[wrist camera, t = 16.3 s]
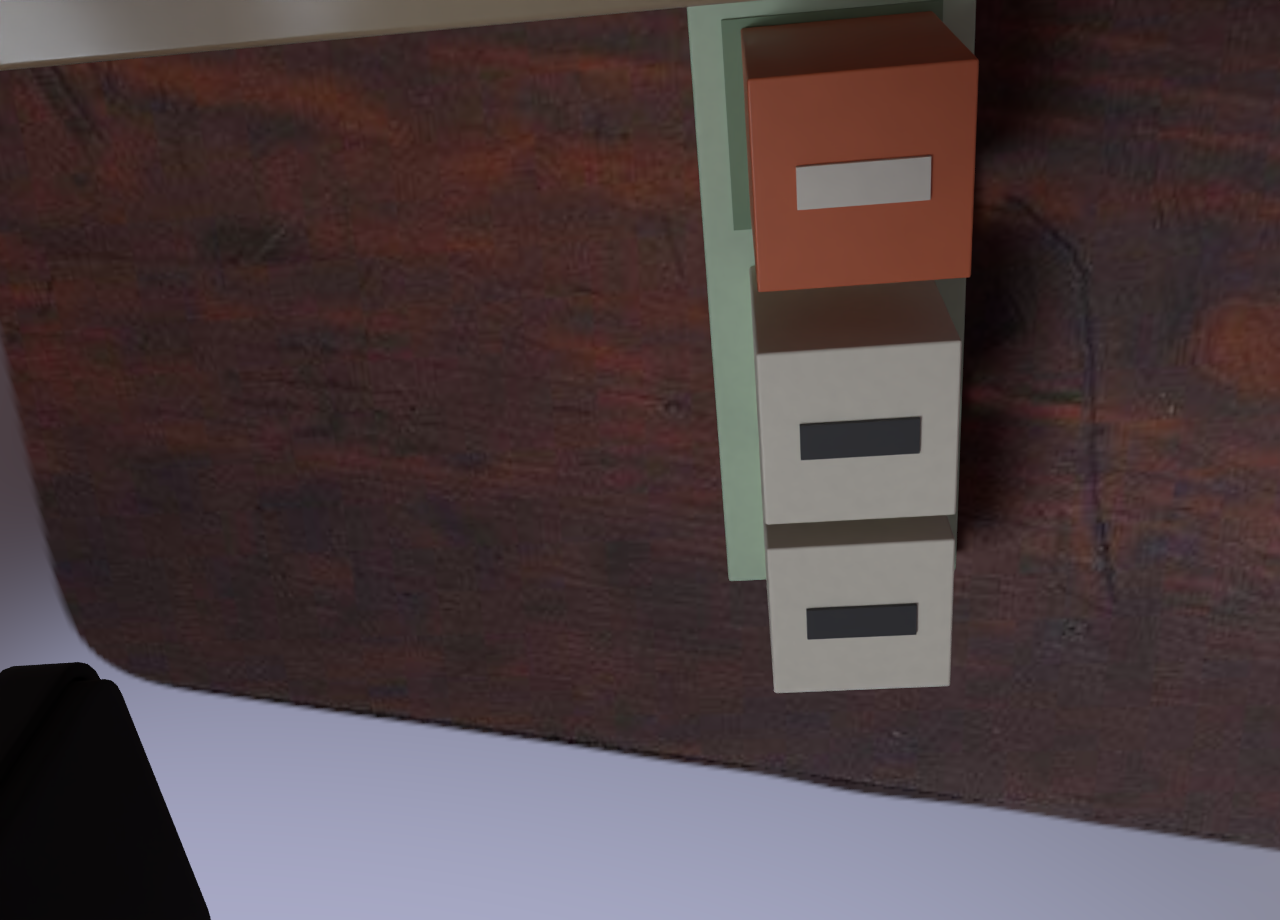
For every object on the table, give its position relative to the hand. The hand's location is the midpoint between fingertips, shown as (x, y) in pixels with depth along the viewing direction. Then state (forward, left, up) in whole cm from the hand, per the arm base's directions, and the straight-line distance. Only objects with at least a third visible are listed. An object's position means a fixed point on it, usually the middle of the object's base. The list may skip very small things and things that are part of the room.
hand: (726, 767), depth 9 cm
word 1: (+3, -5, -21) cm, 21 cm away
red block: (+3, 0, -20) cm, 20 cm away
